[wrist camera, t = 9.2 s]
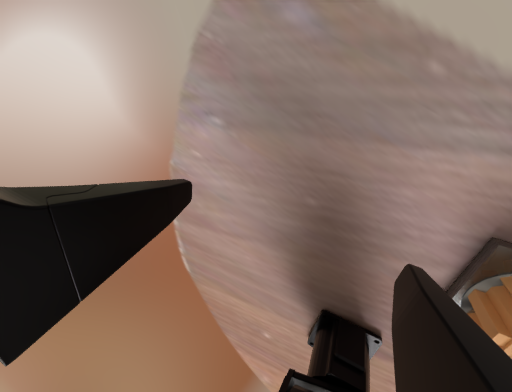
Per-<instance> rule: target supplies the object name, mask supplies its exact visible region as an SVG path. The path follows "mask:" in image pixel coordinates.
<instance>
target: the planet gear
mask: <svg viewBox="0 0 512 392" xmlns="http://www.w3.org/2000/svg"><path fill="white" fill-rule="evenodd" d="M500 280H501V282H502V284H503V286H495V287H491V288H490V289H489V290H488V291H487V292H486V293H484V292H481V291H479V290H476V289H474V290H473V291H472V292H471V293H470V294H469V295H468V296H467V297H468V299H469V301H470V303H471V305H472V307H473V309H474V311H475V313H467V314H468V315H469V316H470V317H471V318H472V319H473V320H474V321H475V322H476V323H477V324H478V325H479V326H480V327H481V328H482V330H483V331H484V332H485V333H486V334H487V335H488V336H489V337H490V338H491V339H492V340H493V341H494V342H495V343H496V344H497V345H498V346H499V347H500V348H501V349H502V350H503V351H504V352H505V353H506V354H507V355H508V356H509V357H510V358H511V359H512V276H509V277H502V278H500Z"/></svg>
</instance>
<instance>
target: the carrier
mask: <svg viewBox="0 0 512 392" xmlns="http://www.w3.org/2000/svg"><path fill="white" fill-rule="evenodd" d="M509 276H512V243H509V242H506V241H502V240H499V239H496V238H493V237H492V239H491V240H490V241H489V242H488V243H487V244H486V246H485V247H484V248H483V249H482V250H481V252H480V253H479V254H478V255H477V256H476V258H475V259H474V260H473V261H472V262H471V263H470V265H469V266H468V267H467V268H466V269H465V271H464V272H463V273H462V274H461V275H460V277H459V278H458V279H457V280H456V281H455V282H454V284H453V285H452V286H451V287H450V288H449V290H448V291H447V292H446V293H447V294H448V295H449V296H450V297H451V298H452V299H453V300H454V301H455V302H456V303H457V304H458V305H459V306H460V307H461V308H462V309H463V310H464V311H465V312H466V313H475V311H474V309H473V307H472V305H471V303H470V301H469V299H468V297H467V296H468V295H469V294H470V293H471V292H472V291H473V290H474V289H476V290H479V291H481V292H484V293H486V292H487V291H488V290H489V289H490V288H491V287H495V286H503V284H502V282H501V280H500V278H502V277H509Z"/></svg>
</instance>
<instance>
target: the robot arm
mask: <svg viewBox="0 0 512 392" xmlns="http://www.w3.org/2000/svg"><path fill="white" fill-rule="evenodd" d="M191 199H192V183H191V182H190V181H188V180H185V179H175V180H160V181H143V182H127V183H111V184H99V185H97V184H94V185H78V186H54V187H53V186H52V187H51V186H50V187H16V188H15V187H0V362H1V363H2V364H3V365H4V366H7V365H9V364H10V363H11V362H13V361H14V360H15V359H16V358H18V357H19V356H20V355H21V354H22V353H23V352H24V351H26V350H27V349H28V348H29V347H30V346H31V345H32V344H34V343H35V342H36V341H37V340H38V339H39V338H40V337H42V336H43V335H44V334H45V333H46V332H47V331H48V330H50V329H51V328H52V327H53V326H54V325H55V324H56V323H58V322H59V321H60V320H61V319H62V318H63V317H64V316H66V315H67V314H68V313H69V312H70V311H71V310H72V309H74V308H75V307H76V306H77V305H78V304H79V303H80V301H82V300H84V299H85V298H86V297H87V296H88V295H89V294H90V293H92V292H93V291H94V290H95V289H96V288H97V287H98V286H99V285H101V284H102V283H103V282H104V281H105V280H106V279H107V278H109V277H110V276H111V275H112V274H113V273H114V272H115V271H117V270H118V269H119V268H120V267H121V266H122V265H124V264H125V263H126V262H127V261H128V260H129V259H130V258H132V257H133V256H134V255H135V254H136V253H137V252H139V251H140V250H141V249H142V248H143V247H144V246H145V245H147V244H148V243H149V242H150V241H151V240H152V239H153V238H154V237H156V236H157V235H158V234H159V233H160V232H161V231H163V230H164V229H165V228H166V227H167V226H168V225H169V224H170V223H171V222H172V221H173V220H174V219H175V218H176V217H177V216H178V215H179V214H180V213H181V212H182V210H183V209H184V208H185V207H186V206H187V205H188V204H189V203H190V201H191ZM392 340H393V355H394V369H395V383H396V392H512V359H511V358H510V357H509V356H508V355H507V354H506V353H505V352H504V351H503V350H502V349H501V348H500V347H499V346H498V345H497V344H496V343H495V342H494V341H493V340H492V339H491V338H490V337H489V336H488V335H487V334H486V333H485V332H484V331H483V330H482V328H481V327H480V326H479V325H478V324H477V323H476V322H475V321H474V320H473V319H472V318H471V317H470V316H469V315H468V314H467V313H466V312H465V311H464V310H463V309H462V308H461V307H460V306H459V305H458V304H457V303H456V302H455V301H454V300H453V299H452V298H451V297H450V296H449V295H448V294H447V293H446V292H445V291H444V290H443V289H442V288H441V287H440V286H439V285H438V284H437V283H436V282H435V281H434V280H433V279H432V278H431V277H430V276H429V275H428V274H427V273H426V272H425V271H424V270H423V269H422V268H420V267H417V266H414V265H412V264H407V265H406V266H405V267H404V269H403V270H402V272H401V273H400V275H399V276H398V278H397V279H396V281H395V284H394V295H393V312H392ZM308 344H309V345H310V346H312V347H313V350H312V355H311V360H310V365H309V369H308V374H307V375H304V374H302V373H299V372H296V371H295V370H293V369H289V371H288V373H287V376H285V378H284V380H283V383H282V385H281V387H280V390H279V392H370V364H369V361H370V359H371V358H372V357H373V355H374V354H375V353H376V351H377V350H378V349H379V347H380V346H381V345H382V338H381V337H380V336H378V335H376V334H374V333H372V332H370V331H368V330H366V329H364V328H361V327H359V326H357V325H355V324H353V323H351V322H349V321H347V320H345V319H343V318H341V317H339V316H336V315H334V314H332V313H330V312H328V311H326V310H322V311H321V313H320V315H319V317H318V319H317V321H316V323H315V325H314V328H313V330H312V332H311V334H310V336H309V338H308Z"/></svg>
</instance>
